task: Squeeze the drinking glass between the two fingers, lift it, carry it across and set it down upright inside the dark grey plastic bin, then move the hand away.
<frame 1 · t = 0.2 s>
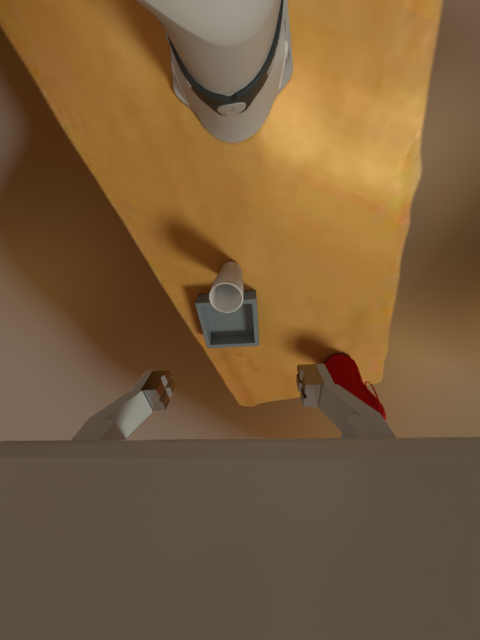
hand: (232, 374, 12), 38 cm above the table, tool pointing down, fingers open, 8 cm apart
drinking glass: (231, 270, 47), on the table
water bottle: (338, 360, 65), on the table
bin: (230, 316, 55), on the table
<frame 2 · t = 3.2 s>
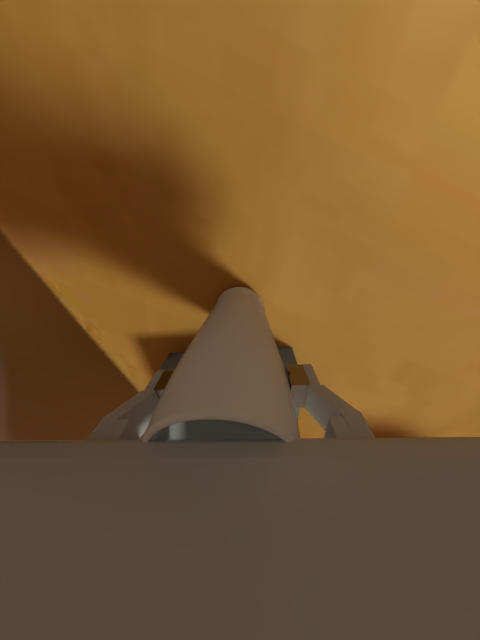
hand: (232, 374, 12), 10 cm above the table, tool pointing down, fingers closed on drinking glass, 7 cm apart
drinking glass: (239, 307, 21), on the table, touching gripper
bin: (235, 392, 27), on the table
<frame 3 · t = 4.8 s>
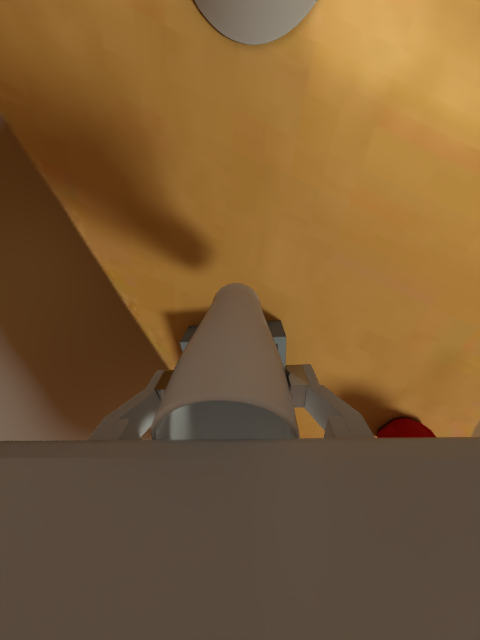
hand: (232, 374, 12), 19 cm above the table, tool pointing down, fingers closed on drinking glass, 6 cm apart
drinking glass: (236, 302, 21), point 8 cm above the table, touching gripper
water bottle: (400, 426, 42), on the table
bin: (238, 359, 35), on the table
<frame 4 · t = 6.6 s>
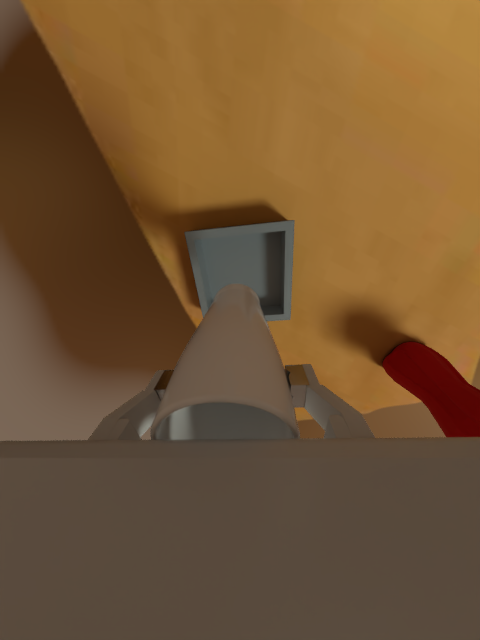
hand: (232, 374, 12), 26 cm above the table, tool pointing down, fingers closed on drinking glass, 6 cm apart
drinking glass: (236, 303, 21), point 15 cm above the table, touching gripper
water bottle: (406, 353, 42), on the table
bin: (243, 272, 34), on the table
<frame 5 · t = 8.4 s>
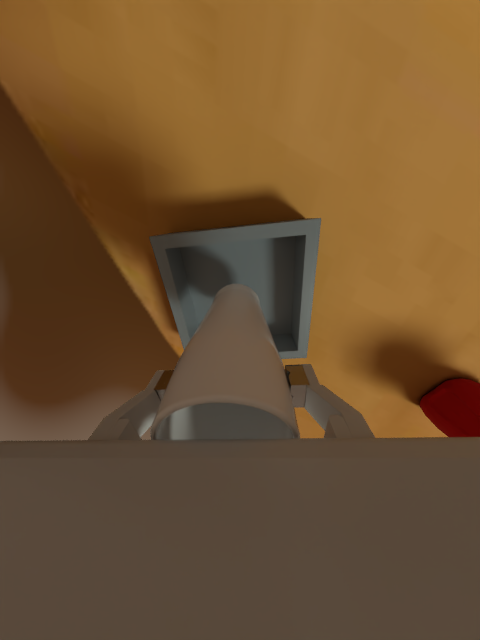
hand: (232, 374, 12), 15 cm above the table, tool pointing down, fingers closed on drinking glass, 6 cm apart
drinking glass: (236, 303, 21), point 4 cm above the table, touching gripper
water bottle: (451, 391, 33), on the table
bin: (241, 291, 25), on the table
when the fingers open (13 cm above the table, at t = 9.9 s): drinking glass moves 4 cm, resting on bin.
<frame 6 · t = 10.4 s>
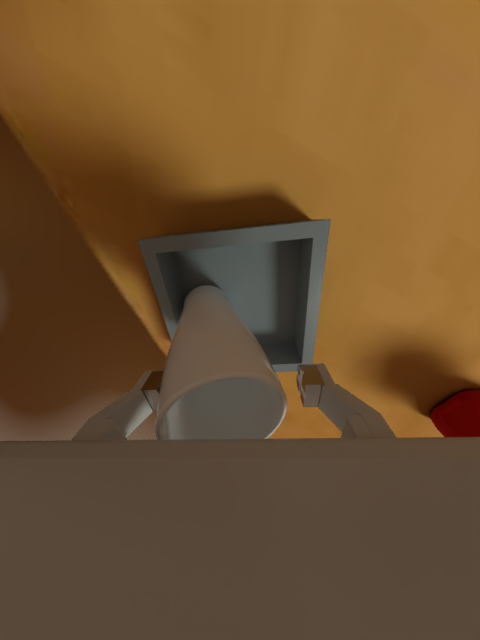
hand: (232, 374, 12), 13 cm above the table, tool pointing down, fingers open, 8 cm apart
drinking glass: (206, 304, 22), point 2 cm above the table, touching bin, gripper
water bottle: (464, 402, 31), on the table
bin: (240, 298, 23), on the table
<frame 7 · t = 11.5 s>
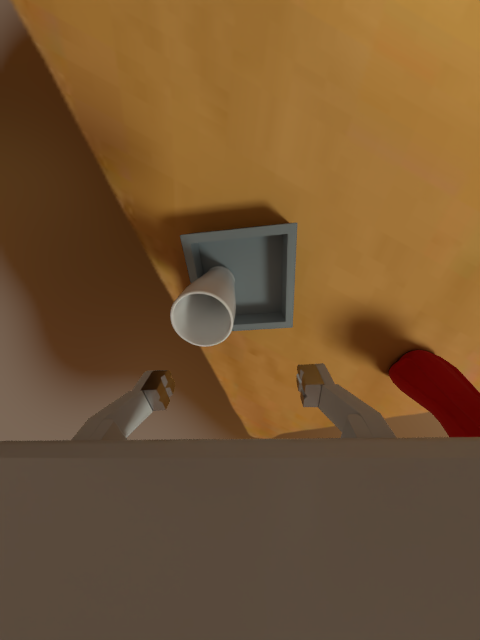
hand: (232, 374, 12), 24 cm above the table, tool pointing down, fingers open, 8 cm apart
drinking glass: (220, 280, 32), point 1 cm above the table, touching bin
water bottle: (413, 362, 40), on the table
bin: (243, 277, 33), on the table
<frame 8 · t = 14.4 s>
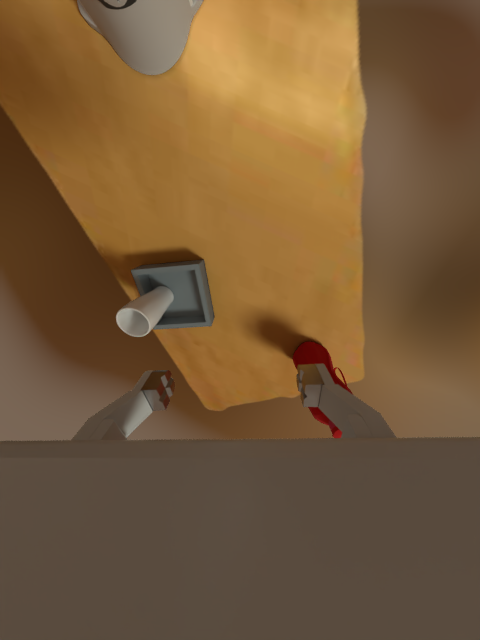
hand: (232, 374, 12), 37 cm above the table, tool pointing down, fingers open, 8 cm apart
drinking glass: (164, 294, 48), point 1 cm above the table, touching bin
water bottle: (309, 350, 57), on the table
bin: (180, 292, 49), on the table
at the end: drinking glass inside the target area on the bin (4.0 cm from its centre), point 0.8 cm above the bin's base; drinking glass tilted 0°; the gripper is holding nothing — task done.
